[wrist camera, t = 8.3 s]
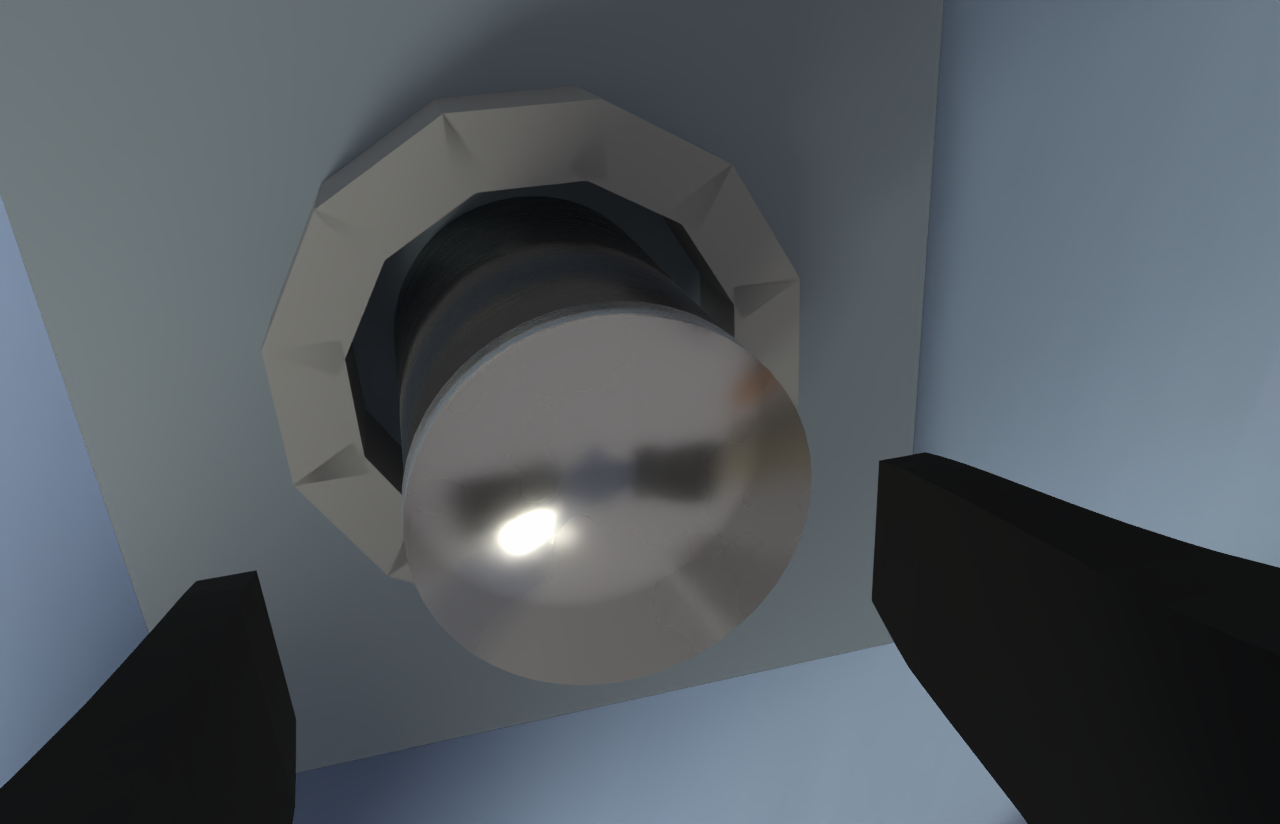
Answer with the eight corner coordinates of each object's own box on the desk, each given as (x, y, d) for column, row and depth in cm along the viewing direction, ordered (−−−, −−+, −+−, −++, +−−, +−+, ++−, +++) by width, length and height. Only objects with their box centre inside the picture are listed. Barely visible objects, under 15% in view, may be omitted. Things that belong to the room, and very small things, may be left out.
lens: (673, 428, 20) (812, 636, 13) (418, 475, 19) (443, 724, 12) (654, 175, 17) (810, 284, 11) (365, 214, 16) (362, 357, 10)
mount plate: (871, 605, 25) (942, 695, 22) (213, 743, 22) (186, 871, 19) (915, -225, 17) (1033, -269, 14) (-90, -198, 14) (-221, -245, 11)
